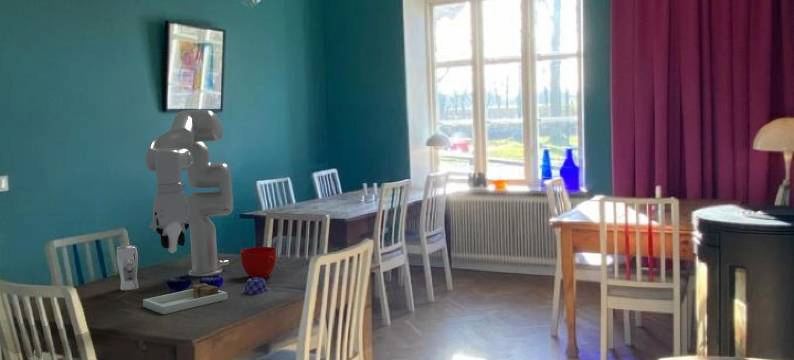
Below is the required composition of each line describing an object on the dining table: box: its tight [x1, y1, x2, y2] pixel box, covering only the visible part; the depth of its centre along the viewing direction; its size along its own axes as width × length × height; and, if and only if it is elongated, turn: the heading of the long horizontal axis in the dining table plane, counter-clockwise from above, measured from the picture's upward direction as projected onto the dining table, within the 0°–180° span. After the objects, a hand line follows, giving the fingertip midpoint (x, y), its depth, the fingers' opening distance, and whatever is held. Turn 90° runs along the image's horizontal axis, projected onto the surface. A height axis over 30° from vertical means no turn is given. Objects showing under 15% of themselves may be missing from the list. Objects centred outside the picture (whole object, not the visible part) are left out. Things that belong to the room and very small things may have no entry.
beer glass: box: [116, 244, 139, 292], centre depth 253 cm, size 7×7×15 cm
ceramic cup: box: [240, 246, 277, 279], centre depth 264 cm, size 13×17×10 cm
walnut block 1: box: [192, 282, 210, 298], centre depth 234 cm, size 4×4×4 cm
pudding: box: [244, 277, 272, 295], centre depth 240 cm, size 12×12×5 cm
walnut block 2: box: [200, 285, 219, 297], centre depth 231 cm, size 4×4×4 cm
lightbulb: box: [161, 222, 182, 254], centre depth 224 cm, size 6×6×11 cm
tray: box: [142, 288, 229, 315], centre depth 228 cm, size 22×14×3 cm, turn 134°
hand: (173, 245), depth 225 cm, fingers closed on lightbulb, 4 cm apart
